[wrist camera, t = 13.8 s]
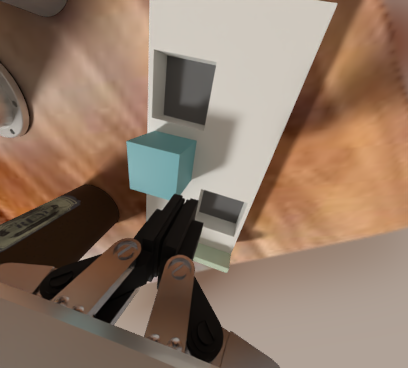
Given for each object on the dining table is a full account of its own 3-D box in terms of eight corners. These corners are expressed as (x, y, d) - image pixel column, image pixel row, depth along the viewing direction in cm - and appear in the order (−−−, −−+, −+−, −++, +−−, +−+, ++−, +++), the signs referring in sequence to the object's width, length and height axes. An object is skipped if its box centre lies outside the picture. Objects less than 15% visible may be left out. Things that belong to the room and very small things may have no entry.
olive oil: (130, 228, 33) (-94, 472, 12) (90, 226, 36) (-144, 415, 15) (108, 180, 28) (-325, 434, 7) (64, 182, 32) (-325, 364, 10)
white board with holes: (155, 217, 30) (136, 240, 25) (166, -5, 16) (129, -48, 11) (231, 243, 28) (226, 273, 23) (322, 20, 14) (357, -18, 9)
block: (154, 169, 21) (129, 188, 17) (154, 130, 19) (126, 141, 15) (191, 180, 21) (175, 202, 16) (196, 140, 18) (179, 154, 14)
